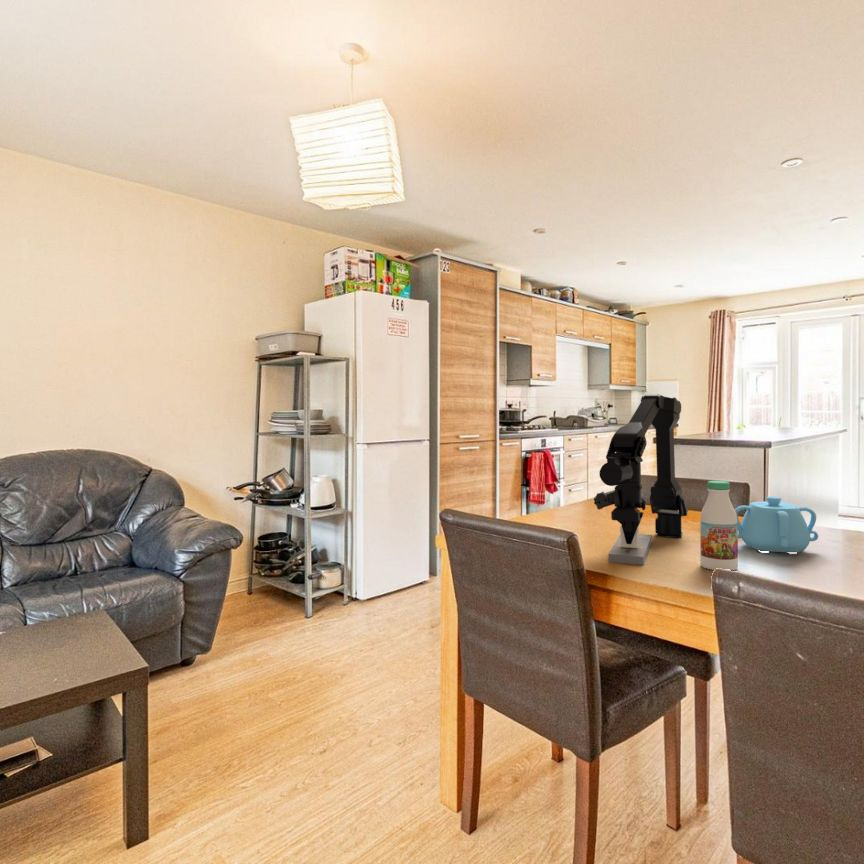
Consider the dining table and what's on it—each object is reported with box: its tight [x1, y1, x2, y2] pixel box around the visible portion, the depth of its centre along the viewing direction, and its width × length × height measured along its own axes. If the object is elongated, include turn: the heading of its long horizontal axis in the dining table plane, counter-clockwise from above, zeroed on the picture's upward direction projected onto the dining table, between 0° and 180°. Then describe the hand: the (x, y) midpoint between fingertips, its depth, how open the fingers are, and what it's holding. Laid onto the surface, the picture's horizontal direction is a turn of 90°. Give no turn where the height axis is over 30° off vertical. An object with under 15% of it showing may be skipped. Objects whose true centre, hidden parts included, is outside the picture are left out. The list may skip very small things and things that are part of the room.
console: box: [607, 533, 653, 566], centre depth 144 cm, size 8×24×2 cm, turn 154°
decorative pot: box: [734, 496, 819, 553], centre depth 142 cm, size 16×16×14 cm
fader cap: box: [619, 525, 640, 548], centre depth 141 cm, size 4×3×5 cm
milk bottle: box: [699, 480, 739, 571], centre depth 128 cm, size 8×8×20 cm
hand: (629, 542), depth 141 cm, fingers closed on fader cap, 3 cm apart
